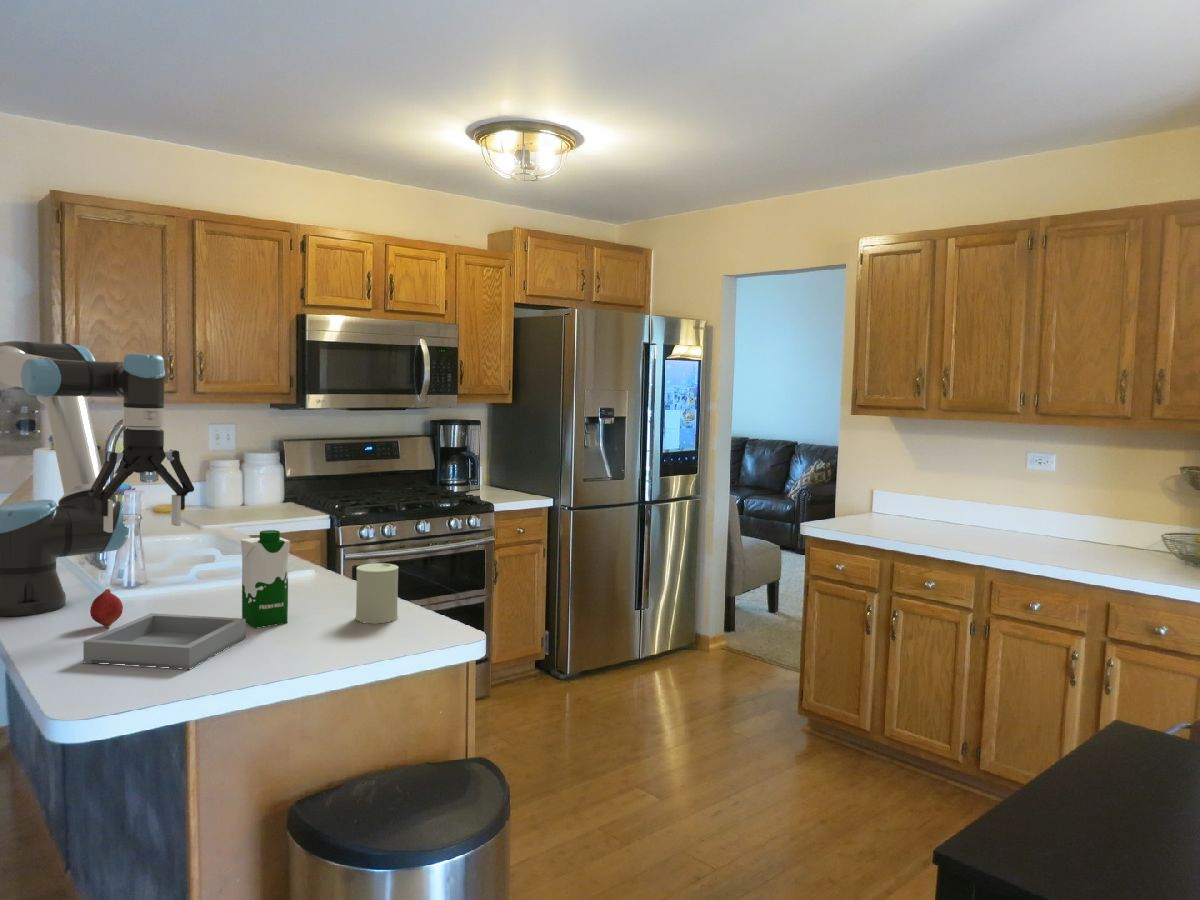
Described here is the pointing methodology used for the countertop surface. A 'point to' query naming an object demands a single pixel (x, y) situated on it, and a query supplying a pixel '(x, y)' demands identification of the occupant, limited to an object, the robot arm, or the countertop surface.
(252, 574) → the milk carton
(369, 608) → the can
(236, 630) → the tray
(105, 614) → the onion
